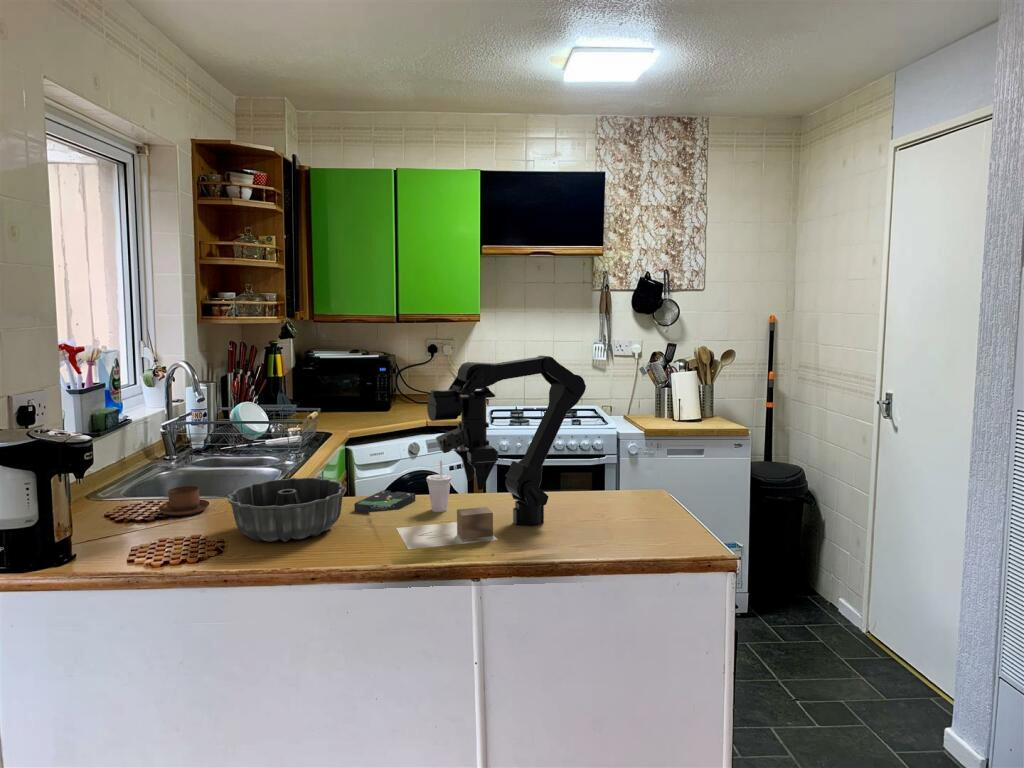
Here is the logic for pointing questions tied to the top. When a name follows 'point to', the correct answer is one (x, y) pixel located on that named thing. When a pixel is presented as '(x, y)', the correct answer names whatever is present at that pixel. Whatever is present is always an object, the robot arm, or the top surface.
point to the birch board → (432, 536)
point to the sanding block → (474, 524)
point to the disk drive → (384, 502)
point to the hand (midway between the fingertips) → (474, 485)
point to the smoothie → (439, 490)
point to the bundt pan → (287, 508)
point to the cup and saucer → (183, 501)
